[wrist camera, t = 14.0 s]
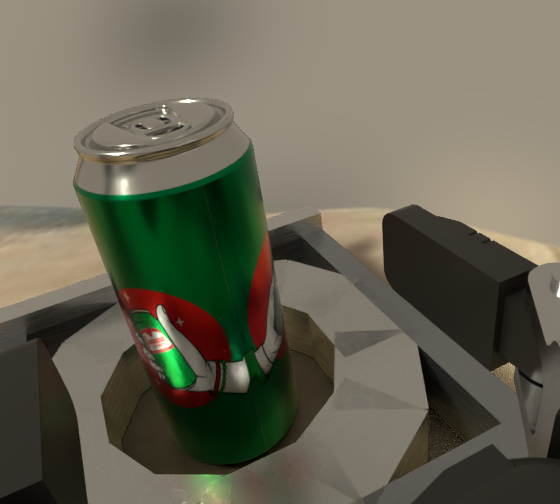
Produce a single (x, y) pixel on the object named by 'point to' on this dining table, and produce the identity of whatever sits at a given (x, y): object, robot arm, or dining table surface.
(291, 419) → the soda can
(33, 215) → the dining table surface
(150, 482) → the jig
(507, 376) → the dining table surface
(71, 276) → the dining table surface
